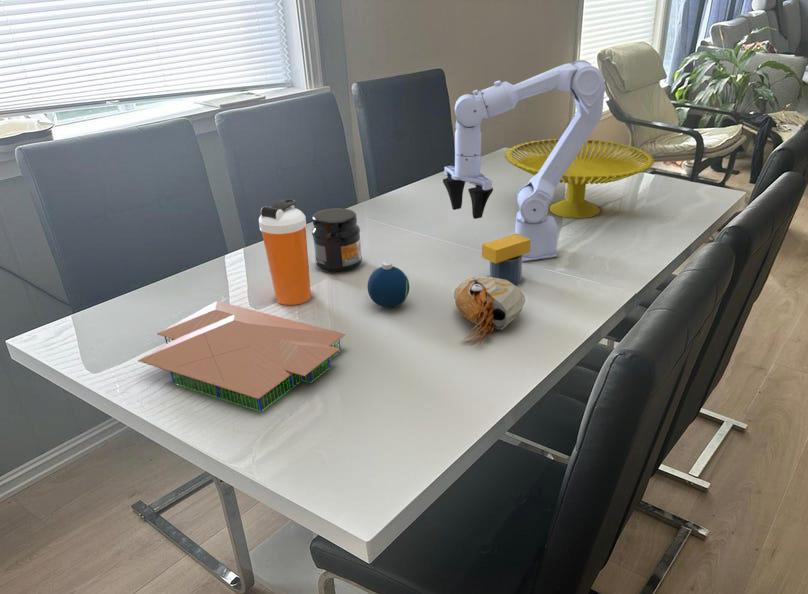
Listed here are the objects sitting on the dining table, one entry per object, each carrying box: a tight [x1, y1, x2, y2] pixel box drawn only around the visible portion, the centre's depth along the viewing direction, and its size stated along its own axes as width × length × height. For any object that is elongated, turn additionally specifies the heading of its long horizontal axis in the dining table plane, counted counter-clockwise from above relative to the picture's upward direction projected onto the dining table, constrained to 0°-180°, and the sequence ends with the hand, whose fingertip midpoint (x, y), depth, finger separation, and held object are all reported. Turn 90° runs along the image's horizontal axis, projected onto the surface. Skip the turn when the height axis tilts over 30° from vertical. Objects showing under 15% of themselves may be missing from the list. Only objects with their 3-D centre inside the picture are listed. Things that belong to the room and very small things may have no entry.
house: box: [137, 300, 346, 413], centre depth 119 cm, size 23×33×8 cm
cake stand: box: [504, 138, 655, 219], centre depth 189 cm, size 40×40×15 cm
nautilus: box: [453, 276, 526, 347], centre depth 132 cm, size 8×22×15 cm
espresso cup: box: [488, 255, 523, 286], centre depth 150 cm, size 7×7×6 cm
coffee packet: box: [481, 233, 531, 264], centre depth 148 cm, size 10×4×3 cm, turn 130°
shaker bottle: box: [258, 198, 312, 306], centre depth 138 cm, size 9×9×20 cm
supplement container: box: [311, 207, 363, 274], centre depth 155 cm, size 10×10×12 cm
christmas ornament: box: [366, 260, 410, 309], centre depth 138 cm, size 8×8×10 cm
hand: (467, 213), depth 159 cm, fingers open, 7 cm apart
